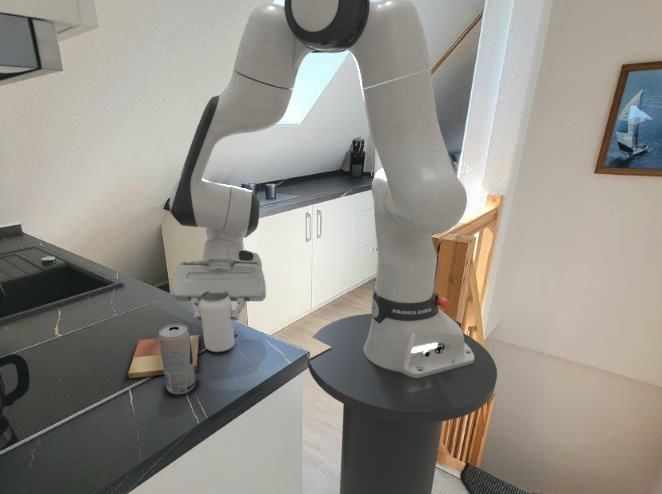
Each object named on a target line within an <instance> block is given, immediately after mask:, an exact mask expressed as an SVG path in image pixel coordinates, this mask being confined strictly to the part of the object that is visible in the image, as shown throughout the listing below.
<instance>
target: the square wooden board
mask: <svg viewBox="0 0 662 494" xmlns="http://www.w3.org/2000/svg"><path fill="white" fill-rule="evenodd" d="M190 341H191V349H192V357H193V365H194V372H198V361H199V360H198V359H199V344H200V337H199V334H194V335H190ZM127 375H128V378H129V379H136V378H138V379H139V378H146V377H147V378H148V377H155V376H165V375H164V369H163V363H162V357H161V350H160V344H159V338H147V339H139V340H138V342H137V344H136V348H135V351H134V353H133V358H132V361H131V364H130V367H129V370H128V372H127Z"/></svg>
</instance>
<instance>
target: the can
mask: <svg viewBox="0 0 662 494" xmlns="http://www.w3.org/2000/svg"><path fill="white" fill-rule="evenodd" d="M209 292H210V291H207V292H205V293H203V294H202V295H201V298H202V299H201V301H200V305H199V310H201V318H202V320H201V326H202V335H203V342H204V347H205V349H207V350H208V351H210V352H212V353H222V352H227V351H228V350H231V349H232V348H233V347H234V345H235V331H234V330H235V328H234V320H232V319H231V310H233V307H232V301H231V299H230V298H229V296H228V292H226V291H224V292H225V293H209Z"/></svg>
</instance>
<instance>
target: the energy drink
mask: <svg viewBox="0 0 662 494" xmlns="http://www.w3.org/2000/svg"><path fill="white" fill-rule="evenodd" d="M188 328H189V327H188V326H187V325H186V324H182V323H171V324H167V325H165V326H163V327H161V328H160V329H159V331H158V335H157V337H158V338H159V344H160V350H161V357H162V363H163V369H164V375H163V376H164V381H165V387H166V390H167V392H168V393H170V394H171V395H177V396H178V395H184V394H185V395H186V394H188V393H189V392H191V391H192V390H194V388H195V386H196V384H197V381H196V380H197V379H196V373H195V371H194V365H193V357H192V349H191V341H190V336H191V334H190V331H189V329H188Z"/></svg>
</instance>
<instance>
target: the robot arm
mask: <svg viewBox="0 0 662 494" xmlns="http://www.w3.org/2000/svg"><path fill="white" fill-rule="evenodd" d="M428 49H429V48H428V45H427V39H426V35H425V32H424V29H423V25H422V21H421V18H420V15H419V12H418V10H417V7H416V6H415V5H414V3H413V2H411V1H410V0H379V1H370V0H284V4H283V5H281V4H278V3H264V4H260V5H258V6H257V7H255V8H254V9H253V10H252V11H251V12H250V14H249V17H248V19H247V21H246V24H245V26H244V29H243V32H242V34H241V38H240V41H239V45H238V48H237V52H236V55H235V60H234V64H233V70H232V74H231V77H230V80H229V82H228V84H227V86H226V87H225V89H224V90H222V92H221V93H220V94H219V95H214V96H212V97H211V98H210V99H209V101H208V102H207V103H206V105H205V107H204V109H203V112H202V114H201V117H200V119H199V123H198V125H197V127H196V129H195V133H194V135H193V137H192V141H191V144H190V147H189V150H188V152H187V155H186V158H185V161H184V163H183V167H182V169H181V172H180V175H179V177H178V179H177V181H176V182H175V184H174V186H173V188H172V190H171V193H170V198H169V212H170V214H171V215H172V217H173V218H174V219H175V220H176V222H178V223H179V225H181V226H184V227H191V228H204V229H205V233H206V239H205V242H204V245H203V253H202V260H183V262H181V263H179V264H177V265H176V267H175V274H174V276H175V277H174V281H173V285H172V289H171V294H172V296H173V297H174V298H175V299H176V300H177V301H178V302H190V304H191V306H192V308H193V310H194V314H193V318H194V320H195V321H202V318H201V309H200V308H199V307H200V301H201V299H202V298H201V295H202V294H203V293H205V292H207V291H210V292H209V293H225V292H224V291H226V292H228V296H229V298H230V299H231V302H236V303H237V306H236V308H235V309H234V310H233V309H232V310H231V319H232V320H233V321H239V320H240V313H242V311H243V310H244V309H245V307H246V302H263V301H264V300H266V298H267V283H266V277H265V274H264V271H263V263H262V259H261V257H260V255H259V254H258V253H257V252H254V251H250V250H247V249H244V246H243V239H244V238H247V237H249V236H251V235H252V234H253V233H254V232H255V231H256V230H257V229H258V226H259V221H260V206H261V202H260V200H259V198H258V197H257V195H256V193H255V192H254V191H253V190H250V189H247V188H244V187H239V186H235V185H232V184H231V185H228V184H224V183H219V182H216V181H215V182H214V181H210V180H207V179H204V178H203V176H204V174H205V171H206V168H207V166H208V163H209V160H210V157H211V155H212V152H213V150H214V148H215V146H216V144H217V143H218V142H220V141H221V140H222V139H224V138H227V137H229V136H235V135H241V134H248V133H256V132H260V131H264V130H267V129H270V128H272V127H273V126H275V125H276V124H278V123H279V122H280V121H281V120H282V119H283V118H284V116H285V115H286V112H287V109H288V107H289V105H290V101H291V98H292V94H293V92H294V88H295V83H296V79H297V76H298V73H299V69H300V66H301V65H302V62H303V60H304V59H305V58H306V57H307V56H308V55H309V54H337V53H343V52H346V51H347V52H349V53H350V54H351V55H352V57H353V59H354V61H355V63H356V67H357V71H358V75H359V81H360V88H361V93H362V98H363V103H364V109H365V114H366V121H367V125H368V130H369V131H368V132H369V136H370V139H371V142H372V143H373V145H374V148H375V150H376V152H377V155H378V157H379V160H380V164H381V168H380V169H379V170H378V171H377V172H376V173H375V174H374V177H373V179H372V180H371V181H372V182H371V195H372V199H373V208H374V209H373V210H374V212H373V213H374V225H375V237H376V247H377V250H376V251H377V252H376V253H377V257H376V258H377V261H376V273H375V274H376V275H375V287H374V288H373V290H372V299H371V307H370V310H371V314H372V322H371V327H370V331H369V335H368V338H367V341H366V343H365V345H364V348H363V351H364V354H365V356H366V357H367V358H368V359H369V360H370V361H371V362H373V363H374V364H376V365H378V366H380V367H383V368H385V369H389V370H393V371H398V372H401V373H403V374H405V375H407V376H410V377H413V378H421V377H425V376H428V375H432V374H436V373H439V372H443V371H447V370H450V369H454V368H458V367H462V366H465V365H469V364H472V363H474V354H473V352H472V350H471V349H470V348H469V346H468V345H467V344H466V343H465V342H464V336H463V333H464V331H463V330H462V323H461V322H460V321H458V320H455V319H453V318H452V317H450V316H449V315H447V313H445V312H443V310H448V309H449V307H451V303H452V302H451V301H450V300H449V299H447V298H446V297H445V296H440V294H439V293H437V292H435V291H434V286H435V277H436V270H437V262H438V258H437V257H438V256H437V251H436V248H435V245H434V241H433V237H432V235H438V234H442V233H445V232H447V231H449V230H451V229H453V228H454V227H456V225H457V224H458V223H459V222H460V221H461V219H462V218H463V217H464V214H465V212H466V210H467V205H468V196H467V195H468V194H467V191H466V189H465V186H464V185H463V183H462V182H461V180H460V179H459V178H458V176H457V174H456V172H455V170H454V167H453V164H452V162H451V158H450V155H449V152H448V149H447V146H446V143H445V141H444V137H443V135H442V131H441V128H440V124H439V119H438V114H437V106H436V99H435V91H434V84H433V77H432V70H431V68H432V67H431V60H430V54H429V50H428ZM198 306H199V307H198ZM439 307H440V308H441V309H442V310H441V309H440V308H439Z"/></svg>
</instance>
